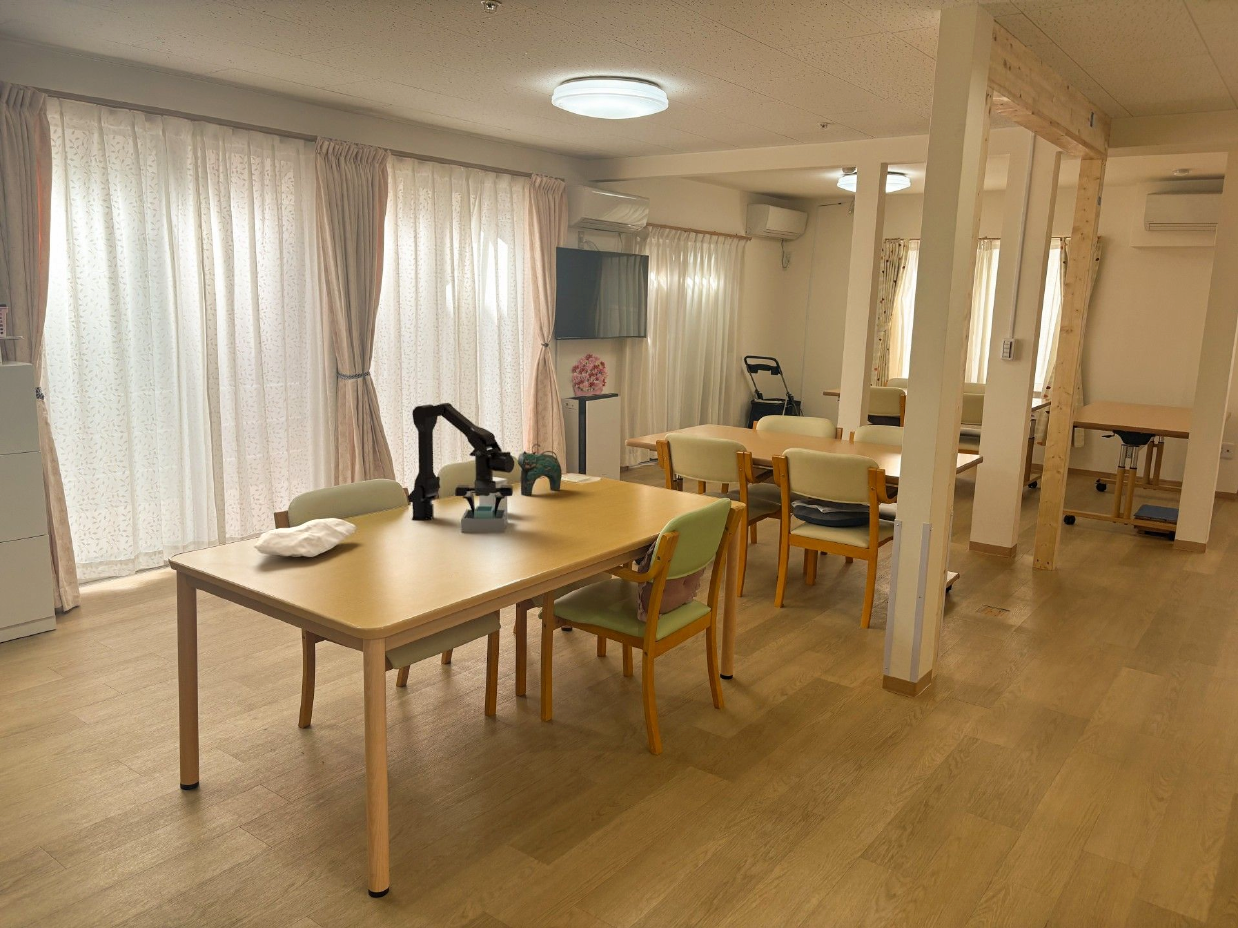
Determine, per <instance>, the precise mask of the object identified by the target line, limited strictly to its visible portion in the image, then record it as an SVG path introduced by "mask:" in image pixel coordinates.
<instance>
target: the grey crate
mask: <svg viewBox="0 0 1238 928" xmlns="http://www.w3.org/2000/svg"><path fill="white" fill-rule="evenodd" d="M508 520H509V519H508V508H507V509H498V510H497V513H496V516H495V518H487V519H474V515H473V513H472V510H471V508H469V509H466V510H465V511H464V513H463V515H462V517H461V519H460V523H461V524H460V528H461V533H505V531H506V529H507V524H508Z"/></svg>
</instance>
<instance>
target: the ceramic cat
mask: <svg viewBox="0 0 1238 928" xmlns="http://www.w3.org/2000/svg"><path fill="white" fill-rule="evenodd" d="M535 446H538V447H539V448H540V447H541V445H540V444H538V443H535V444H533V445H532V447H531V452H526V450H524V451H523V452H521V453H520V454H519V455H518V458H517V464H518V467H519V468H520V469H521V472H520V495H521V496H524V497H529V496H532V494H533V489H534V485H535V483H536V481H537V480H538V478H541V477H546V478H547V479H548V481H549V482H548V483H549V489H550V491H553V492H558V491H560V490H561V483H562V476H563V473H562V467H561V464H560V462H559V459H558V456H557V454H556V453H555V452H554V451H551V450H546V451H543V452H542V453H541V452H540V453H539V454H538V453H537V451H534V450H533V449H534V447H535ZM536 453H537V454H536ZM547 453H552V454H554V455H552V454H547Z"/></svg>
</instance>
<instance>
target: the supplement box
mask: <svg viewBox="0 0 1238 928" xmlns="http://www.w3.org/2000/svg"><path fill="white" fill-rule="evenodd" d="M493 481H495V482H496V488H500V487H501V485H508V478H503V477H496V476H493ZM496 496H497V493H490V495H489V496H478V502H479V504H478V506H495V502H496ZM498 509H507V510H508V496H505V498H504V499H501V501H500V503H499V506H498Z"/></svg>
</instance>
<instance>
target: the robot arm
mask: <svg viewBox="0 0 1238 928" xmlns="http://www.w3.org/2000/svg"><path fill="white" fill-rule="evenodd" d="M411 414H412V420H413V421H412V422H413V425H414V426H415V428H416V430H417V436H418V437H417V439H418V441H417V443H418V446H417V447H418V473H417V475H416V477H415V479H414V486H413V490H412V491H411V492H410V493H409V495H407V500H408V503H411V504H412V517H411V520H412V521H415V520H416V521H417V520H418V521H419V520H420V521H421V520H422V521H423V520H424V521H425V520H428V521H429V520H431V519H432V518H433V517H434V516H435V515H434V514H435V510H434V509H435V506H434V503H433V500H435V499H436V496H437V494H438V493H439V489H441V485H440V480H441V479H440V476H436V473H435V472H434V430H435V427H436V424H437V423H438V417H442V418H443V419H445V420H446V421H447V422H449V423H450V424H451V425H452V426H453V427H455V428H456V429H457V430H458V431H459V432H460V433H462V435H464V436H465V438H466V439H467V442H468V444H470V446H471V447H472V448H473V450H472V451H471V452H470V453H469V457H474V459H475V460H474V463H475V464H474V466H475V471H474V472H475V473H474V474H475V481H474V487H470V485H469V484H457V486H456V487H455V489H454V490H455V491H454V495H455V497H462V499H465V500H466V501H467V502H468V505H469V506H470V509H471V510H472V513H473V515H474V511H475V509H476V507H475V506H476V505H475V497H474V496H476V497H479V496H489V495H490V493H497V496H496V502H495V510H494V516H496V513H497V510H498V506H499V503H500V501H501V499H504V498H505V496H507V497H511V496H513V494H514V486H513V485H512V484H507V485H501V487H500V488H496V482H495V481H493V477H494V472H500V473H508V474H510V473H512V471H513V470H514V468H515V460H514V457H513V456H512V455H511V451H503V450H502V447H501V446H500V445H499V443H498V442H497V440H496V436H495V434H494V433H493V432H492V431H490V430H488V429H485V428H484V427H481V426H477V425H476V424H475V423H473V421H471V420H470V419H468V418H467V417H466V416H465V415H464V414H463V413H461V412H460V411H458V409H456V408H455V407H454V406H453V404H451V403H449V402H443V403H438V404H436V405H434V404H431V403H429V404H424V405H417V406H415V407H414V408H413V409H412V413H411Z"/></svg>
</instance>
